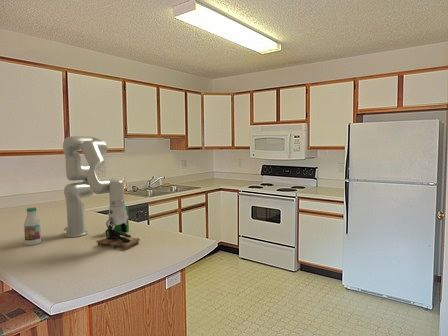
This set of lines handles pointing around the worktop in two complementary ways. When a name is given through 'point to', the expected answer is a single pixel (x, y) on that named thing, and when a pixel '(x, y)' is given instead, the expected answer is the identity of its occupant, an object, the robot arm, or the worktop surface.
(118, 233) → the can opener
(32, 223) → the milk bottle
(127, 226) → the motor
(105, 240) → the stand
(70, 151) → the robot arm
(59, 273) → the worktop surface
